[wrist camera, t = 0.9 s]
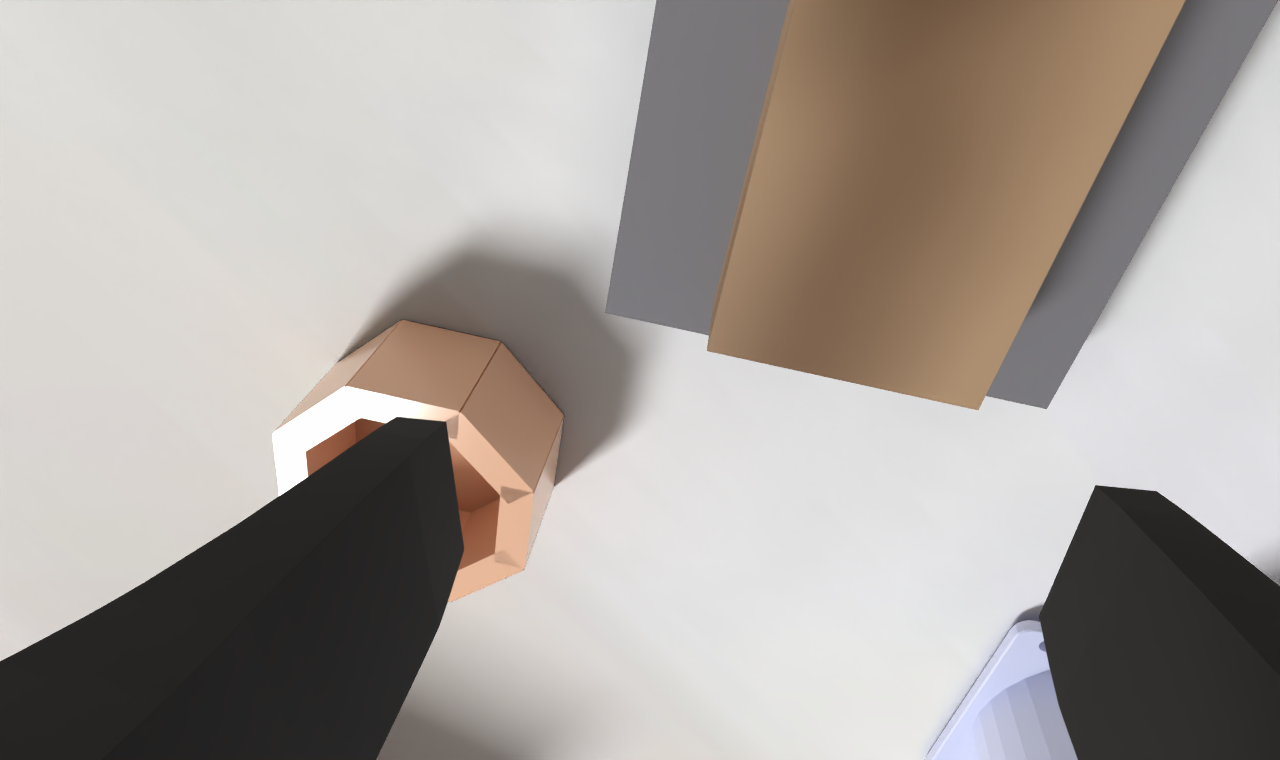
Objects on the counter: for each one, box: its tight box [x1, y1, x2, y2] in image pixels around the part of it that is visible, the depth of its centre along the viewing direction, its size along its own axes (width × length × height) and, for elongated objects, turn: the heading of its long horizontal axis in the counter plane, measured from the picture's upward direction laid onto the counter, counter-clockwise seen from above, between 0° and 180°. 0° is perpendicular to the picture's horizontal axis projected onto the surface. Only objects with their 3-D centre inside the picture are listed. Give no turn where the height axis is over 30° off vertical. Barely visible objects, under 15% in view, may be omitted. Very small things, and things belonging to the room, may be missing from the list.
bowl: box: [272, 320, 564, 602], centre depth 20 cm, size 6×6×3 cm
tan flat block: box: [707, 0, 1186, 410], centre depth 14 cm, size 5×8×2 cm
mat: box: [605, 0, 1278, 409], centre depth 15 cm, size 10×9×2 cm
